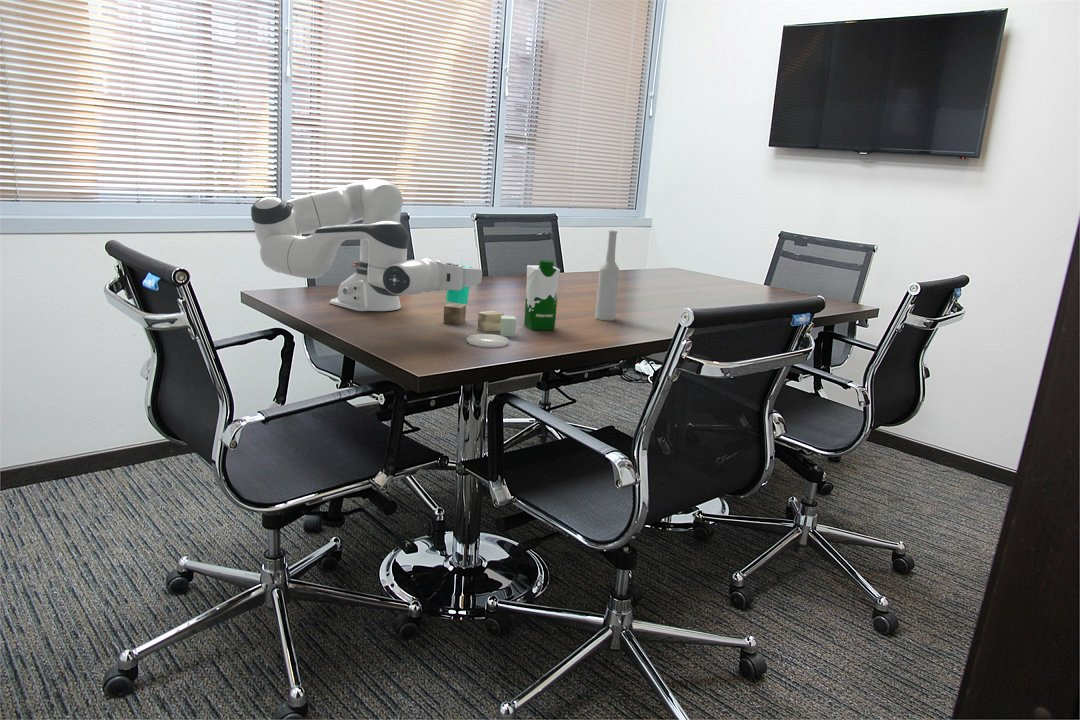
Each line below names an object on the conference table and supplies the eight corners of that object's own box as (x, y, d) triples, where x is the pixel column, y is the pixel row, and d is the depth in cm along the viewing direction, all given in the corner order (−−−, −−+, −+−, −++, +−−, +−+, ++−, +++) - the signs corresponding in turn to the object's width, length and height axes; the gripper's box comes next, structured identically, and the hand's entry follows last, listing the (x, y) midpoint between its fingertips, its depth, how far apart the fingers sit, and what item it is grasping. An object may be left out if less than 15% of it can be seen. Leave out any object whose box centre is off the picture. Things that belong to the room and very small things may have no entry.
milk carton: (530, 331, 220) (535, 262, 215) (520, 324, 228) (524, 257, 223) (558, 330, 223) (563, 262, 218) (547, 323, 231) (552, 258, 226)
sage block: (500, 336, 211) (501, 318, 210) (499, 332, 215) (500, 315, 214) (515, 336, 212) (516, 319, 211) (513, 333, 216) (514, 316, 215)
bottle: (614, 321, 242) (622, 232, 235) (593, 319, 243) (601, 230, 236) (616, 317, 248) (624, 231, 241) (596, 315, 249) (603, 229, 242)
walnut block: (443, 322, 223) (444, 306, 222) (449, 319, 228) (450, 303, 227) (459, 324, 222) (460, 307, 221) (465, 321, 227) (466, 305, 226)
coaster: (458, 342, 201) (458, 338, 200) (481, 335, 210) (481, 332, 210) (494, 349, 196) (494, 346, 195) (515, 342, 205) (515, 338, 205)
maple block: (477, 329, 218) (478, 312, 217) (494, 327, 222) (494, 310, 221) (485, 332, 215) (486, 314, 214) (502, 330, 219) (503, 313, 218)
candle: (446, 301, 210) (452, 258, 209) (445, 300, 216) (450, 257, 214) (468, 304, 211) (473, 261, 210) (466, 302, 217) (471, 260, 216)
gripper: (401, 280, 206) (431, 276, 218) (463, 291, 197) (492, 285, 209) (401, 257, 205) (432, 254, 217) (465, 267, 196) (493, 262, 208)
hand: (462, 269), depth 213 cm, fingers closed on candle, 5 cm apart
